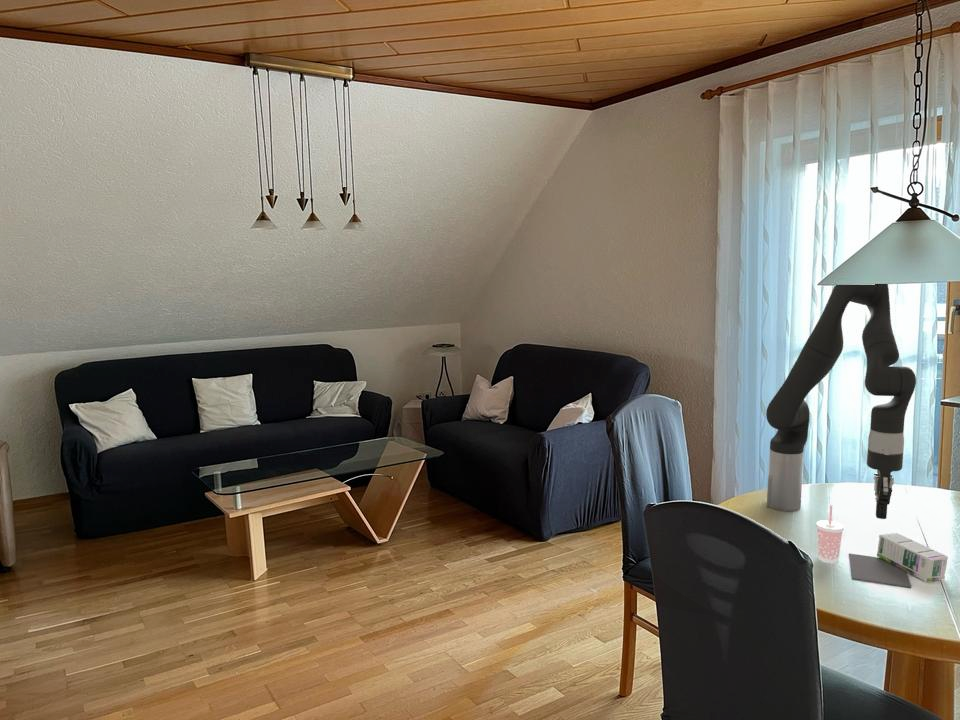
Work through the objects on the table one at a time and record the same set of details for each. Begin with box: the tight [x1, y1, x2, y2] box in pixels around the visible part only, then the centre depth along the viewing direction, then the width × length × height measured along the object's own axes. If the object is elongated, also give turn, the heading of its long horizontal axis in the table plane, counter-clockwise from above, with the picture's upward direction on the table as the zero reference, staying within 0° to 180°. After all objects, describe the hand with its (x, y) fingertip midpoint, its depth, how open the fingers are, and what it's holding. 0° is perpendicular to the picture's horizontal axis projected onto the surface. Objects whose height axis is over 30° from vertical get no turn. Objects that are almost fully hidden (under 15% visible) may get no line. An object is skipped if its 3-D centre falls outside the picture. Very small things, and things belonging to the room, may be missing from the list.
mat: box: [848, 553, 912, 589], centre depth 176 cm, size 12×15×1 cm
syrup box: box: [876, 532, 949, 583], centre depth 176 cm, size 6×6×14 cm
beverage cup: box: [816, 504, 845, 564], centre depth 181 cm, size 6×6×14 cm
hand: (880, 517), depth 179 cm, fingers closed
